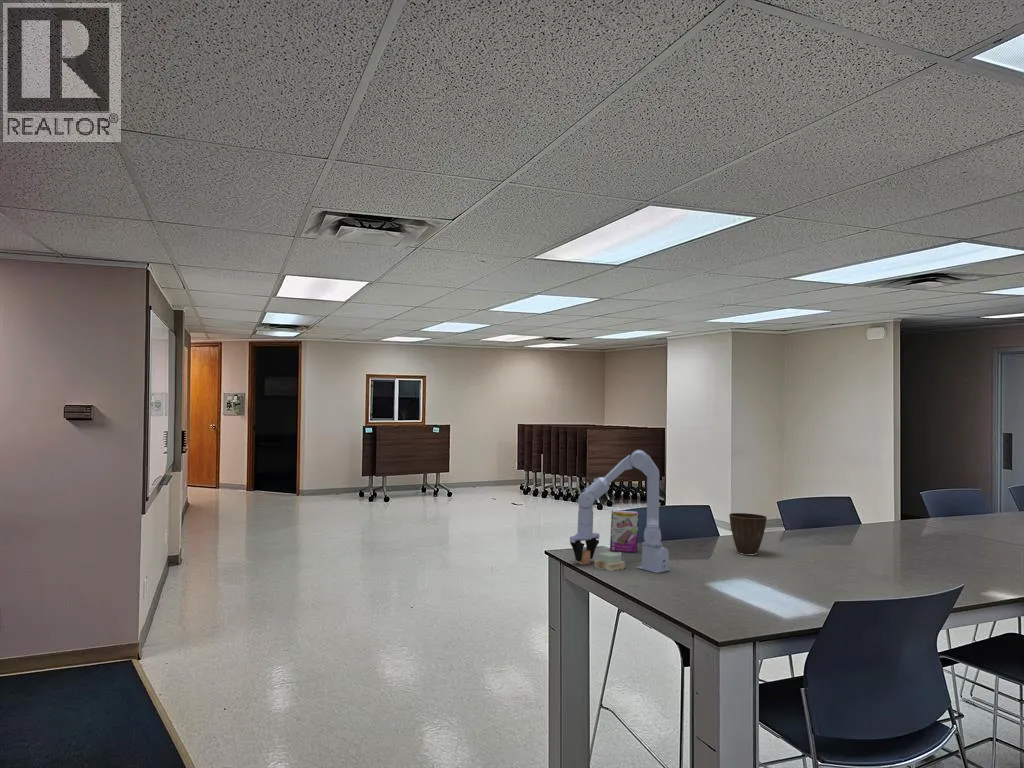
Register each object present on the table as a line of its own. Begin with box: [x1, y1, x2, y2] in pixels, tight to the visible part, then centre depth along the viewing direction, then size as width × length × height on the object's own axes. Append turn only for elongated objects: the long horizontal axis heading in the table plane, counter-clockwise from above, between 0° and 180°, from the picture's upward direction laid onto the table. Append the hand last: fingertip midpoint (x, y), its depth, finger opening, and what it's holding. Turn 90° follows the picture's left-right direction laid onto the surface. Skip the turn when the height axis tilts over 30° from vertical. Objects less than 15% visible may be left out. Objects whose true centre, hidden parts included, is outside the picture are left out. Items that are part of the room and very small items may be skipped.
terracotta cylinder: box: [577, 548, 591, 565], centre depth 256 cm, size 5×5×5 cm
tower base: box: [593, 559, 626, 572], centre depth 251 cm, size 8×8×3 cm
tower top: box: [597, 551, 622, 564], centre depth 251 cm, size 6×6×2 cm
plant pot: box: [728, 512, 768, 554], centre depth 286 cm, size 15×15×16 cm
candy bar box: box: [609, 509, 640, 554], centre depth 281 cm, size 11×5×16 cm, turn 84°
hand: (584, 559), depth 256 cm, fingers open, 6 cm apart
